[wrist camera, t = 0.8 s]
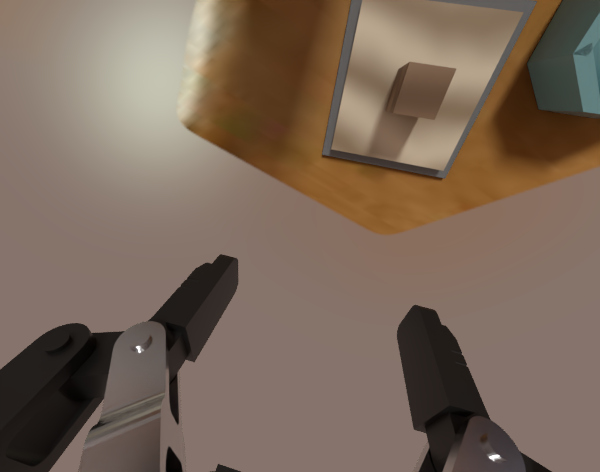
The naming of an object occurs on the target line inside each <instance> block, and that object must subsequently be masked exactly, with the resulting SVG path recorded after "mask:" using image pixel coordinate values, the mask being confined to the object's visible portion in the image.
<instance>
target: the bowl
mask: <svg viewBox="0 0 600 472" xmlns="http://www.w3.org/2000/svg"><path fill="white" fill-rule="evenodd" d="M527 65H528V69H529V73H530V77H531V81H532V85H533V89H534V93H535V97H536V101H537V105H538V109H539V110H545V111H551V112H557V113H563V114H570V115H576V116H582V117H588V118H599V119H600V0H563V1H562V2H561V4H560V6H559V8H558V10H557V11H556V13H555V15H554V17H553V18H552V20H551V22H550V24H549V26H548V27H547V29H546V31H545V33H544V34H543V36H542V38H541V40H540V41H539V43H538V45H537V47H536V49H535V50H534V52H533V54H532V56H531V57H530V59H529V61H528V63H527Z"/></svg>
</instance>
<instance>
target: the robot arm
mask: <svg viewBox="0 0 600 472" xmlns="http://www.w3.org/2000/svg"><path fill="white" fill-rule="evenodd" d="M237 285H238V260H237V258H233V257H229V256H226V255H219V256H218V257H217V259H216V260H215V261H214V262H213V263H212V264H210V263H205V264H203V265H201V266H200V267H198V268H196V269H195V270H194V271H193V272H192V273H191V274H190V276H189V277H188V278H187V280H185V281H184V282H183V283H182V284H181V287H179V288H178V289H177V290H176V291H175V292H174V293H173V295H172V296H171V297H170V298H169V299H168V300H167V301H166V302H165V304H164V305H163V306H162V307H161V308H160V309H159V310H158V311H157V313H156V314H155V315H154V316H153V317H152V318H151V319H150V320H148V321H147V322H142V323H139V324H136V325H134V326H132V327H130V328H129V329H127V330H126V331H122V332H104V333H91V332H90V330H89V329H88V328H87V326H85V325H83V324H79V323H72V324H66V325H62V326H59V327H57V328H55V329H52V330H50V331H48V332H46V333H45V334H43V335H42V336H40V337H39V338H38V339H37V340H35V341H34V342H33V343H32V344H31V345H29V346H28V347H27V348H26V349H25V350H23V351H22V352H21V353H20V354H19V355H17V356H16V357H15V358H14V359H13V360H11V361H10V362H9V363H8V364H7V365H5V366H4V367H3V368H2V369H1V370H0V472H49V471H50V469H51V468H52V466H53V465H54V464H55V463H56V461H57V460H58V459H59V457H60V456H61V455H62V453H63V452H64V451H65V449H66V448H67V446H68V445H69V444H70V443H71V441H72V440H73V439H74V437H75V436H76V435H77V433H78V432H79V431H80V429H81V428H82V427H83V425H84V424H85V423H86V421H87V420H88V419H89V417H90V416H91V415H92V413H93V412H94V411H95V409H96V408H97V407H98V405H99V404H100V403H101V402H102V400H103V399H104V402H103V408H102V413H101V417H100V420H99V422H98V424H96V425H95V426H93V427H92V428H91V430H90V431H89V433H88V435H87V438H86V440H85V444H84V447H83V452H82V457H81V461H80V466H79V471H78V472H186V460H185V446H184V438H183V432H182V424H181V401H180V378H179V369H180V368H181V366H182V364H183V363H184V361H185V360H189V361H193V362H195V360H196V359H197V356H198V355H199V354H200V352H201V350H202V348H203V346H204V345H205V343H206V342H207V340H208V338H209V336H210V335H211V333H212V331H213V330H214V328H215V326H216V325H217V323H218V321H219V319H220V318H221V316H222V314H223V312H224V311H225V309H226V307H227V306H228V304H229V302H230V301H231V299H232V297H233V295H234V294H235V292H236V289H237ZM397 340H398V345H399V350H400V356H401V362H402V367H403V373H404V378H405V383H406V389H407V394H408V400H409V405H410V411H411V416H412V421H413V427H414V430H417V431H421V432H424V433H426V434H427V438H428V443H427V444H426V445H425V446H424V449H423V451H422V453H421V455H420V457H419V459H418V462H417V464H416V467H415V468H414V471H413V472H551V471H550V470H548V469H546V468H545V467H543V466H542V465H540V464H539V463H537V462H535V461H534V460H532V459H531V458H529V457H527V456H526V455H524V454H523V453H521V452H520V451H519V450H518V448H517V446H516V445H515V443H514V442H513V440H512V439H511V438H510V437H509V435H508V434H507V433H506V432H505V431H504V430H503V429H502V428H501V427H499V426H498V425H497V424H496V423H494V422H493V421H491V419H490V418H489V415H488V413H487V411H486V409H485V406H484V404H483V402H482V399H481V397H480V394H479V392H478V390H477V387H476V385H475V383H474V380H473V378H472V376H471V373H470V371H469V369H468V367H467V366H466V365H467V364H466V361H465V359H464V356H463V355H462V352H461V349H460V347H459V345H458V342H457V340H456V338H455V337H454V336H453V334H452V333H451V332H450V331H449V329H448V328H447V327H446V326H444V325H441V322H440V319H439V317H438V314H437V313H436V311H435V310H433V309H429V308H425V307H421V306H418V305H414V306H413V307H412V308H411V309H410V311H409V312H408V313H407V315H406V316H405V318H404V319H403V320H402V322H401V323H400V325H399V327H398V331H397ZM212 472H240V471H237V470H234V469H231V468H229V467H226V466H223V465H219V464H218V466H217V468H216V471H212Z"/></svg>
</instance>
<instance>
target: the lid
mask: <svg viewBox="0 0 600 472" xmlns="http://www.w3.org/2000/svg"><path fill="white" fill-rule="evenodd" d="M523 13H524V12H517V11H509V10H501V9H493V8H485V7H477V6H469V5H461V4H453V3H445V2H437V1H429V0H362V4H361V9H360V14H359V19H358V23H357V28H356V33H355V38H354V42H353V47H352V52H351V57H350V62H349V66H348V71H347V76H346V81H345V85H344V90H343V95H342V100H341V105H340V109H339V114H338V119H337V124H336V128H335V133H334V138H333V143H332V147H331V149H332V150H338V151H343V152H348V153H353V154H359V155H364V156H369V157H374V158H379V159H385V160H390V161H395V162H400V163H405V164H411V165H416V166H421V167H426V168H432V169H437V170H442V171H444V169H445V167H446V165H447V163H448V161H449V159H450V157H451V155H452V153H453V151H454V149H455V147H456V145H457V143H458V141H459V139H460V137H461V135H462V133H463V131H464V129H465V127H466V125H467V123H468V121H469V119H470V117H471V115H472V113H473V111H474V109H475V108H476V106H477V104H478V102H479V100H480V98H481V96H482V94H483V92H484V90H485V88H486V86H487V84H488V82H489V80H490V78H491V76H492V74H493V72H494V70H495V68H496V66H497V64H498V62H499V60H500V58H501V56H502V54H503V52H504V50H505V48H506V46H507V44H508V42H509V40H510V38H511V36H512V34H513V32H514V30H515V28H516V26H517V25H518V23H519V21H520V19H521V17H522V15H523Z"/></svg>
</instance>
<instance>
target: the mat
mask: <svg viewBox="0 0 600 472" xmlns="http://www.w3.org/2000/svg"><path fill="white" fill-rule="evenodd" d="M429 1H437V2H445V3H453V4H461V5H469V6H477V7H485V8H493V9H501V10H509V11H517V12H524V13H523V15H522V17H521V19H520V21H519V23H518V25H517V26H516V28H515V30H514V32H513V34H512V36H511V38H510V40H509V42H508V44H507V46H506V48H505V50H504V52H503V54H502V56H501V58H500V60H499V62H498V64H497V66H496V68H495V70H494V72H493V74H492V76H491V78H490V80H489V82H488V84H487V86H486V88H485V90H484V92H483V94H482V96H481V98H480V100H479V102H478V104H477V106H476V108H475V109H474V111H473V113H472V115H471V117H470V119H469V121H468V123H467V125H466V127H465V129H464V131H463V133H462V135H461V137H460V139H459V141H458V143H457V145H456V147H455V149H454V151H453V153H452V155H451V157H450V159H449V161H448V163H447V165H446V167H445V169H444V171H442V170H437V169H432V168H426V167H421V166H416V165H411V164H405V163H400V162H395V161H390V160H385V159H379V158H374V157H369V156H364V155H359V154H353V153H348V152H343V151H338V150H332V149H331V147H332V143H333V138H334V133H335V128H336V124H337V119H338V114H339V109H340V105H341V100H342V95H343V90H344V85H345V81H346V76H347V71H348V66H349V62H350V57H351V52H352V47H353V42H354V38H355V33H356V28H357V23H358V19H359V14H360V9H361V4H362V0H352V1H351V6H350V11H349V16H348V22H347V27H346V32H345V37H344V43H343V48H342V53H341V58H340V64H339V69H338V74H337V79H336V85H335V90H334V95H333V100H332V106H331V111H330V116H329V121H328V127H327V132H326V137H325V142H324V148H323V153H322V155H327V156H332V157H337V158H342V159H348V160H353V161H358V162H363V163H368V164H373V165H378V166H384V167H389V168H394V169H399V170H404V171H409V172H414V173H419V174H425V175H430V176H435V177H440V178H445V177H446V175H447V174H448V172H449V170H450V168H451V166H452V164H453V162H454V160H455V158H456V156H457V154H458V152H459V150H460V149H461V147H462V145H463V143H464V141H465V139H466V137H467V135H468V133H469V131H470V129H471V127H472V125H473V124H474V122H475V120H476V118H477V116H478V114H479V112H480V110H481V108H482V106H483V104H484V102H485V100H486V99H487V97H488V95H489V93H490V91H491V89H492V87H493V85H494V83H495V81H496V79H497V77H498V75H499V74H500V72H501V70H502V68H503V66H504V64H505V62H506V60H507V58H508V56H509V54H510V52H511V50H512V49H513V47H514V45H515V43H516V41H517V39H518V37H519V35H520V33H521V31H522V29H523V27H524V25H525V24H526V22H527V20H528V18H529V16H530V14H531V12H532V10H533V8H534V6H535V4H536V2H537V1H531V0H429Z"/></svg>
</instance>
